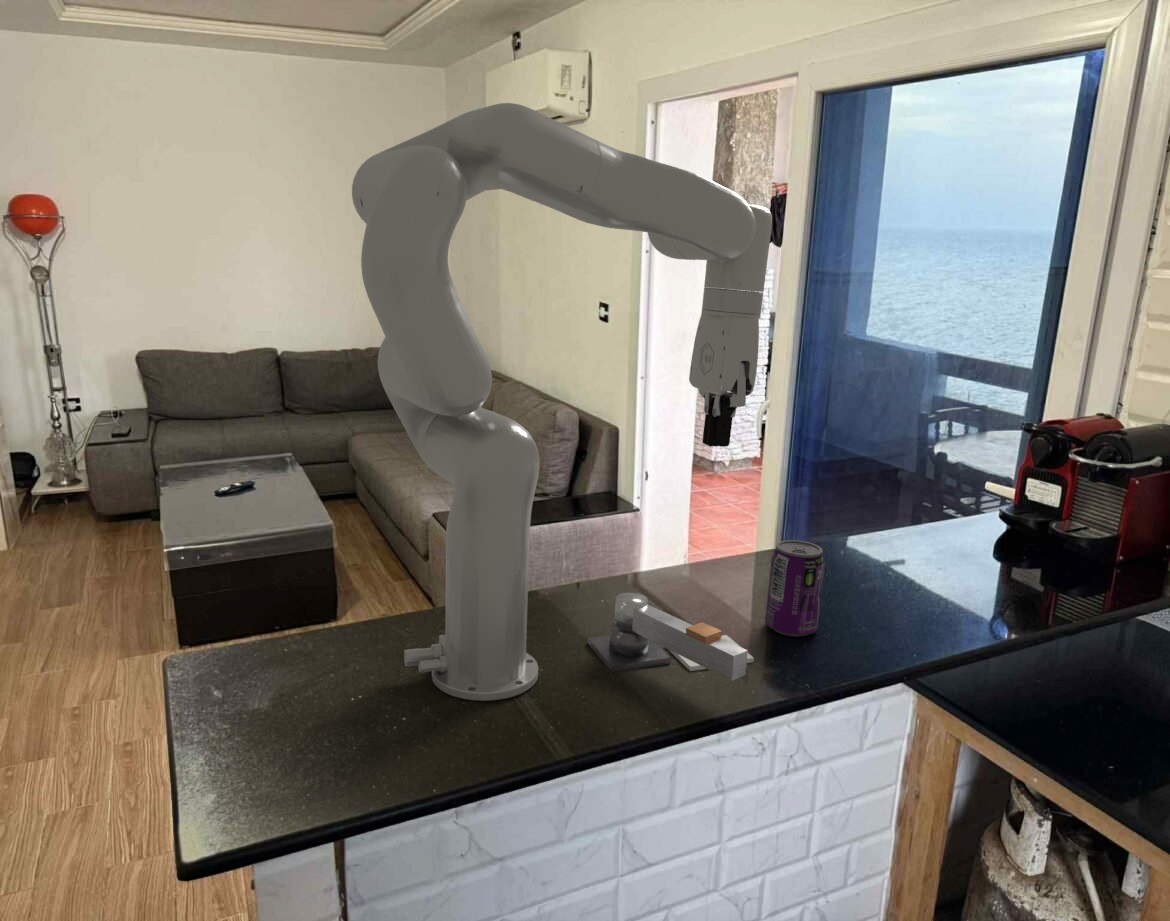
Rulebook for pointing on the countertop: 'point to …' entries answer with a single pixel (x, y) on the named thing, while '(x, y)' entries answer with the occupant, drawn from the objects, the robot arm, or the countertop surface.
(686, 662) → the label plate
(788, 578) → the beverage can
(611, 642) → the pivot pedestal
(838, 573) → the countertop surface
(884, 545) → the countertop surface
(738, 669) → the grey long bar
